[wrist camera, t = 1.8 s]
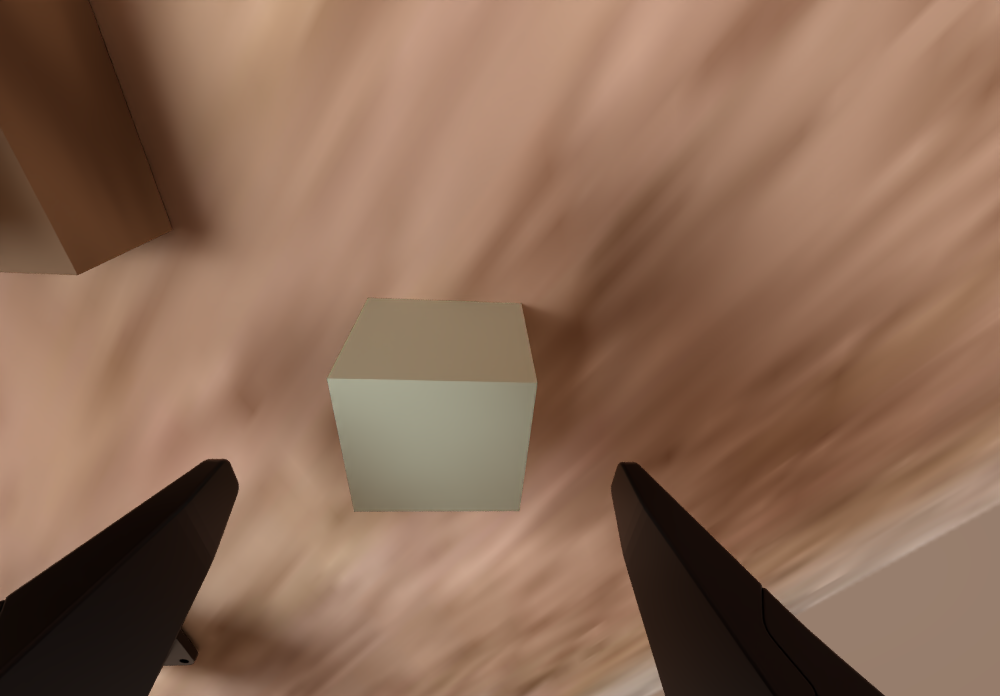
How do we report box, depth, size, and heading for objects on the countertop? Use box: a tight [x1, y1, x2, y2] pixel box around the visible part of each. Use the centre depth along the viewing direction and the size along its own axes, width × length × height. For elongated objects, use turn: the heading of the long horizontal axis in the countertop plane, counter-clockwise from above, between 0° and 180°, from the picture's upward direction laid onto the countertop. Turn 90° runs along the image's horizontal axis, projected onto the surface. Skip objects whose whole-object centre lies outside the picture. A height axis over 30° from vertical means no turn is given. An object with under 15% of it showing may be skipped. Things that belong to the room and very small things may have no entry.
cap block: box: [327, 298, 537, 512], centre depth 12 cm, size 4×4×4 cm
